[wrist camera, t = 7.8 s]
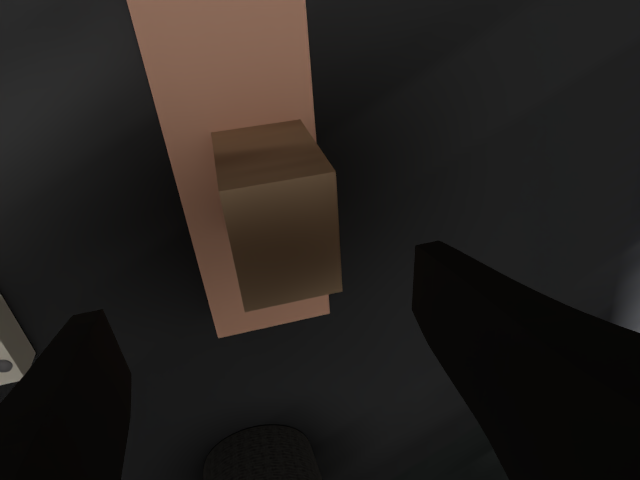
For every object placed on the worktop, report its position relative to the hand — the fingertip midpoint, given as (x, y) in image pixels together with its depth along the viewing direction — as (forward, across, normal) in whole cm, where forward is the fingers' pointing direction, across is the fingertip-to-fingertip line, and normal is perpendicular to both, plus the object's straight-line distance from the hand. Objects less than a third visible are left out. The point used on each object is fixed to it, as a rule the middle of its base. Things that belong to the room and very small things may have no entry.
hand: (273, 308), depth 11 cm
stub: (+8, 0, 0) cm, 8 cm away
